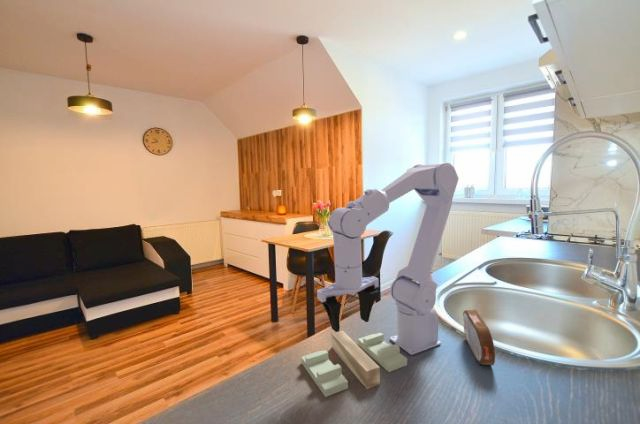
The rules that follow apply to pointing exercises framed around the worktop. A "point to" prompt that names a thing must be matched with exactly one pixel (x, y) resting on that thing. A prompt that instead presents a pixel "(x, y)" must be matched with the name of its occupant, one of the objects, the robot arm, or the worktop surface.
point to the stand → (331, 375)
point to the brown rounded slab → (479, 337)
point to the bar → (356, 359)
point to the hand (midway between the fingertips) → (350, 324)
